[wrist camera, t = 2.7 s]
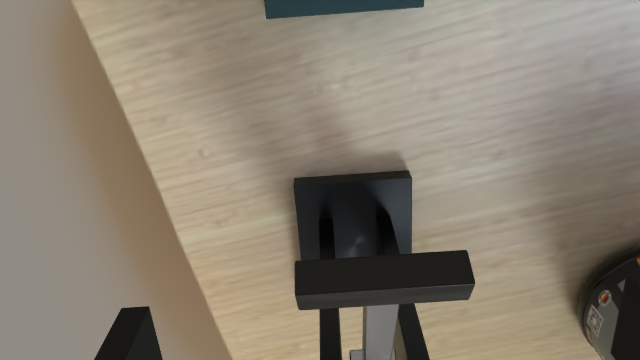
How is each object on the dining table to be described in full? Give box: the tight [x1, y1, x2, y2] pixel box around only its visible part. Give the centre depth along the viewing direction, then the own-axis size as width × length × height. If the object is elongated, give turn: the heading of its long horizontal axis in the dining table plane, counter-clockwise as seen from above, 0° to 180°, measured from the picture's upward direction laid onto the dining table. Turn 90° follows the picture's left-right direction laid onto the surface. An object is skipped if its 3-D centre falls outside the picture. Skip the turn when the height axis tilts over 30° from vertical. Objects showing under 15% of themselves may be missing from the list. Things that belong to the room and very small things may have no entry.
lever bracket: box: [294, 171, 430, 360], centre depth 31 cm, size 10×8×16 cm
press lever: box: [295, 250, 475, 360], centre depth 21 cm, size 13×6×2 cm, turn 6°
